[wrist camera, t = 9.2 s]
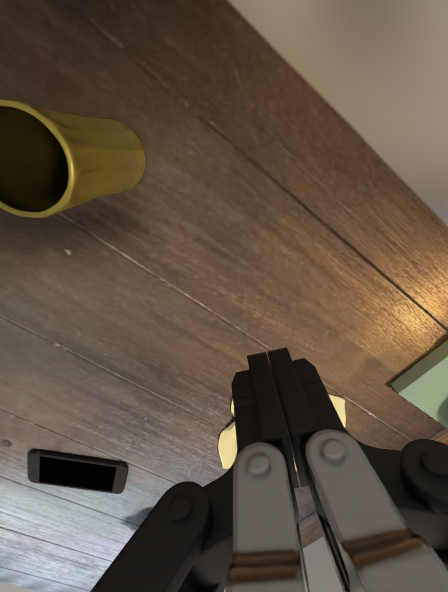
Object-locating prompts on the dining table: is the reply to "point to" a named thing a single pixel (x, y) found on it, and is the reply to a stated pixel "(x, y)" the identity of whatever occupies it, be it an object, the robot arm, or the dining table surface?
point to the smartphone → (76, 472)
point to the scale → (428, 384)
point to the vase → (62, 159)
